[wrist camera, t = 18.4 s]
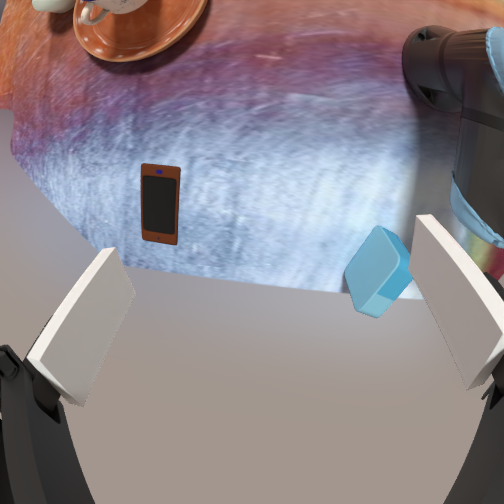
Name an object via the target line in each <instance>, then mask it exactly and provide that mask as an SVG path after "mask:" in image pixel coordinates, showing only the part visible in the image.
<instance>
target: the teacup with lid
mask: <svg viewBox="0 0 504 504" xmlns="http://www.w3.org/2000/svg"><path fill="white" fill-rule="evenodd" d="M82 1H88V2H87V4H86V5H85V7H84V9H83V11H82V13H81V21H82V23H83V24H86V25H95V24H97V23H99V22H101V21H102V20H103V19H104V18H105V17H106V16H107V14H108V13H109V12H111V13H114V14H124V13H129V12H131V11H134V10H136V9H137V8H139V7H141V6H142V5H143V4H144V3H146V2H147V1H148V0H82ZM94 4H95V5H97V6H99V7H101V8H103V10H102V11H101V12H100V14H99V15H98V16H97V17H96V18H94V19H92V20H89V13H90V11H91V9H92V7H93V6H94Z"/></svg>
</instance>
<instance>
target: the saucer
mask: <svg viewBox="0 0 504 504" xmlns="http://www.w3.org/2000/svg"><path fill="white" fill-rule="evenodd" d="M207 1H208V0H148V1H147V2H146V3H144V4H143V5H142V6H141V7H139V8H137V9H136V10H134V11H131V12H129V13H124V14H114V13H111V12H109V13H108V14H107V16H106V17H105V18H104V19H103V20H102V21H101V22H99V23H97V24H95V25H86V24H83V23H82V21H81V13H82V11H83V9H84V7H85V5H86V4H87V2H88V1H82V0H76V3H75V7H74V14H73V24H74V30H75V34H76V37H77V39H78V41H79V42H80V44H81V45H82V47H83V48H84V49H85V50H86V51H87V52H89V53H90V54H92V55H93V56H95V57H97V58H100V59H103V60H106V61H112V62H128V61H136V60H140V59H144V58H147V57H150V56H153V55H155V54H157V53H159V52H161V51H163V50H165V49H167V48H168V47H170V46H171V45H173V44H174V43H176V42H177V41H178V40H179V39H181V38H182V37H183V36H184V35H185V34H186V33H187V32H188V31H189V30H190V29H191V28H192V27H193V26H194V24H195V23H196V22H197V20H198V19H199V17H200V16H201V14H202V12H203V10H204V8H205V6H206V3H207ZM102 10H103V8H101V7H99V6H97V5H95V4H94V6H93V7H92V9H91V11H90V13H89V20H92V19H94V18H96V17H97V16H98V15H99V14H100V12H101V11H102Z"/></svg>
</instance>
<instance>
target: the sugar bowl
mask: <svg viewBox="0 0 504 504" xmlns="http://www.w3.org/2000/svg"><path fill="white" fill-rule="evenodd" d="M75 3H76V0H32V5H33V7H34V9H35V10H38V11H46V12H53V13H65V12H67V11H69V10H71V9H72V8H73V7H74V6H75Z"/></svg>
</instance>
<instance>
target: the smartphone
mask: <svg viewBox="0 0 504 504" xmlns="http://www.w3.org/2000/svg"><path fill="white" fill-rule="evenodd" d="M180 172H181V169H180V167H175V166H166V165H156V164H146V163H143V164H142V165H141V228H142V239H143V240H147V241H153V242H159V243H165V244H171V245H176V244H177V238H178V209H179V189H180Z"/></svg>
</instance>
